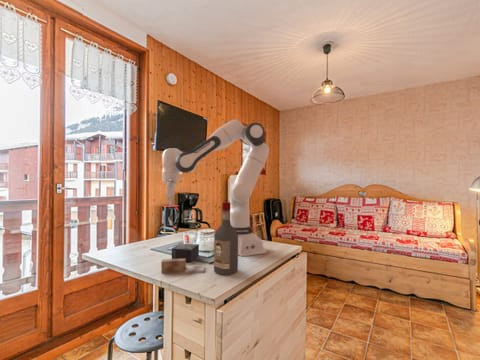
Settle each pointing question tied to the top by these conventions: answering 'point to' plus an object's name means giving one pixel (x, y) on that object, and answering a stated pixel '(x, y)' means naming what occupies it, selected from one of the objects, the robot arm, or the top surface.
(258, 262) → the top surface
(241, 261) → the top surface
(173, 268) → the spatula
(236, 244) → the liquor
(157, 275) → the top surface
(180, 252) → the small box
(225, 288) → the top surface
